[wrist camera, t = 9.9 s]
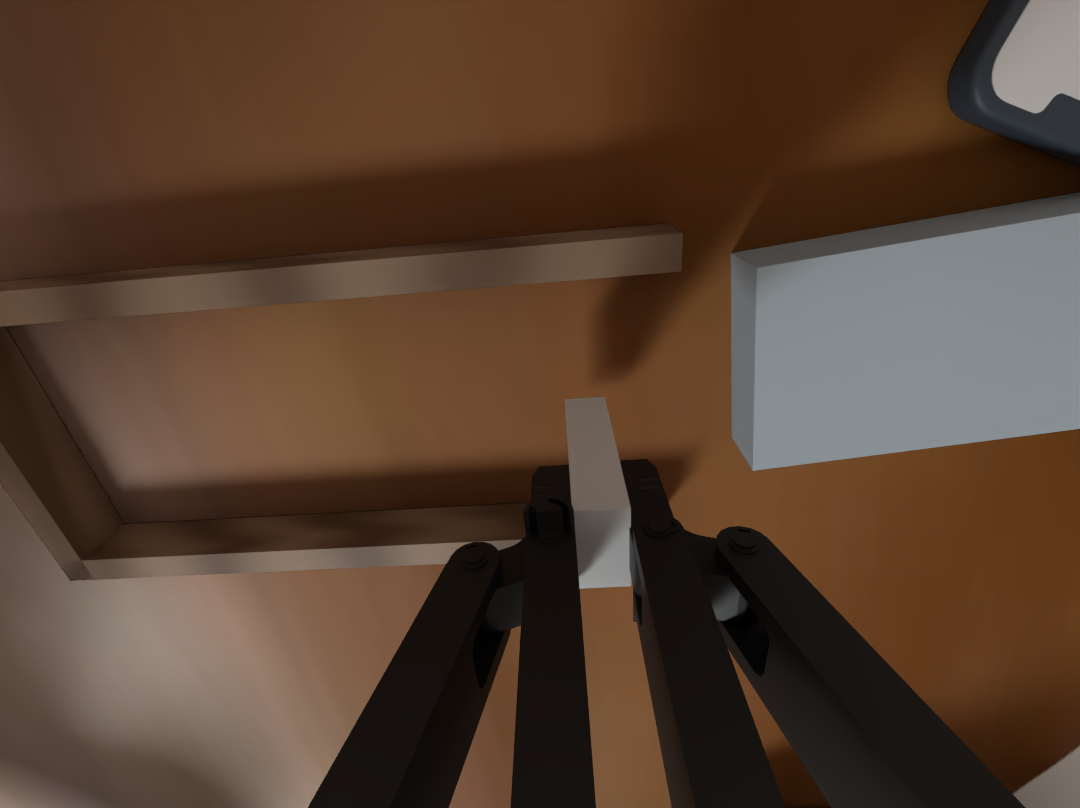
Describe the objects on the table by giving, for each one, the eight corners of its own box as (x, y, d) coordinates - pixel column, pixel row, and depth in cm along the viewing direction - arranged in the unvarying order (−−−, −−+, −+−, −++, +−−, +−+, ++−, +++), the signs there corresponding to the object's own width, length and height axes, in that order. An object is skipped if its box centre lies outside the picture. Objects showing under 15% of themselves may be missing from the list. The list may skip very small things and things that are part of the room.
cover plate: (728, 432, 22) (752, 470, 19) (727, 251, 18) (756, 267, 16) (1018, 392, 21) (1087, 427, 18) (1077, 189, 17) (1174, 196, 14)
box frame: (113, 543, 25) (70, 580, 23) (-50, 285, 19) (-129, 302, 17) (658, 515, 24) (669, 553, 21) (666, 223, 18) (682, 233, 15)
